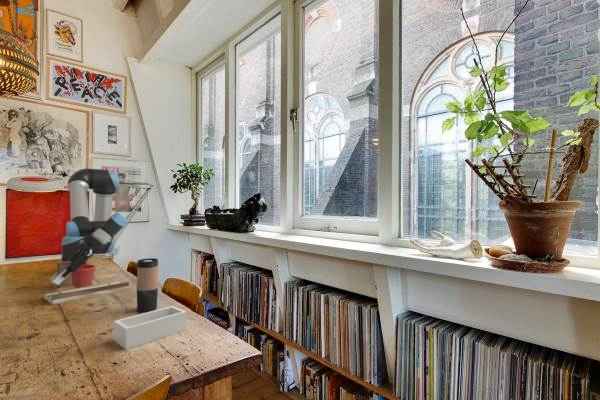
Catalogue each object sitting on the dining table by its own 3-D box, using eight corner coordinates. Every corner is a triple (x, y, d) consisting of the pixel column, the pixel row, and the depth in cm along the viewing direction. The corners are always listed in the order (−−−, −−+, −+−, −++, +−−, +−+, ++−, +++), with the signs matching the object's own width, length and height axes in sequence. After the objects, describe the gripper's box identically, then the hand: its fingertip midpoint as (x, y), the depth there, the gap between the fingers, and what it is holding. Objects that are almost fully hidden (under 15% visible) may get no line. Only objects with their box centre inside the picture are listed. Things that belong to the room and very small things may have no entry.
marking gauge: (53, 289, 138) (53, 262, 138) (69, 286, 143) (70, 260, 143) (57, 292, 134) (58, 264, 134) (74, 289, 138) (74, 262, 138)
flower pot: (85, 288, 156) (86, 269, 156) (64, 288, 156) (64, 268, 157) (99, 283, 167) (100, 264, 167) (79, 282, 167) (79, 264, 167)
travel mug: (161, 306, 130) (161, 258, 130) (150, 313, 122) (151, 262, 123) (143, 306, 131) (144, 258, 131) (132, 312, 123) (132, 261, 123)
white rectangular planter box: (113, 340, 99) (113, 321, 99) (172, 322, 114) (172, 305, 114) (126, 349, 93) (126, 329, 93) (186, 329, 108) (186, 311, 108)
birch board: (44, 298, 140) (44, 289, 140) (117, 285, 163) (117, 277, 163) (52, 305, 131) (52, 295, 131) (128, 290, 154) (128, 282, 154)
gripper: (111, 247, 144) (67, 290, 132) (97, 243, 156) (55, 283, 143) (98, 236, 140) (51, 280, 128) (85, 233, 152) (40, 273, 139)
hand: (53, 282), depth 135 cm, fingers closed on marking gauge, 4 cm apart
